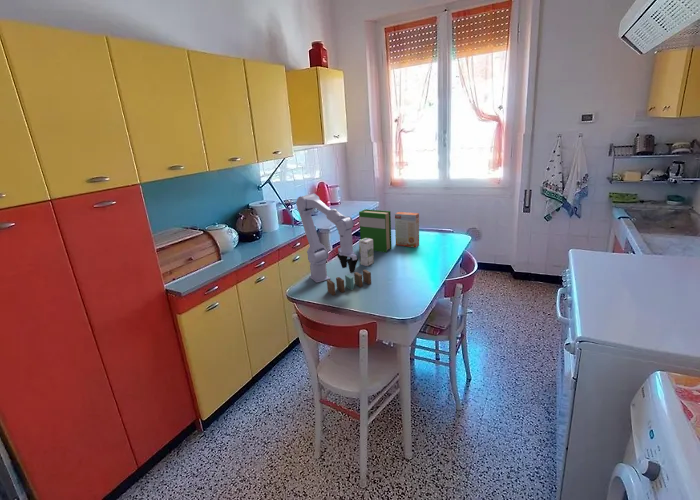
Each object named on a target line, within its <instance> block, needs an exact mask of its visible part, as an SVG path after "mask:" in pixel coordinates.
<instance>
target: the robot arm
mask: <svg viewBox="0 0 700 500" xmlns="http://www.w3.org/2000/svg"><path fill="white" fill-rule="evenodd" d="M295 205H296V208H297V211H298V214H299V218H300V221H301V223H302V226H303V230H304V232H305V235H306V239H307V242H308V245H309V247H308V249H307V251H306V253H307V260H308V262H309V264H310V265H309V267H310V268H309V270H310V275H309V279H312V280H313V281H314V282H315V283H321V282H323V281H324V282H325V281H327V280H331V277H330V276H328V271H327V270H328V269H327V261H328V259H329V252H328V250H327V247H325V246H326V245H325V244H323V243H321V242H320V239H319V236H318V233H317V229H316V227H315V222H314V220H313V217H312V212H313V210H314V209H317V210H318V211H320V212H321V213H322V214H324V215H325V216H326V219H327V220H328V221H330V222H331V223H332V224H334V226H335V228H336V229H337V232H338V235H339V242H340V243H339V244H340V247H338V248H337V251H338V252H337V254H336V257H337V258H338V260H339V262H340V266H341V268H342V269H345V268H347V267H348V270H349V273H350V274H352V273H353V274H354V273H355V272H356V267H357V263H358V262H359V258H358V256H357V254H355V252H354V247H353V234H352V233H353V232H352V230H353V228H354V226H355V224H354V220H353V219H352V217H351V216H348V215H347V216H346V215H344V214H342V213H341V212H339V211H338V210H337V209H336V208H332V209H331V208H330V207H329V206H328V205H327V204H325V203H324V202H323V201H322V200H321V199H320V196H319V195H317V194H316V193H314V192H313V193H310V194H306V195H302V196H298V197H297V198H296V202H295Z"/></svg>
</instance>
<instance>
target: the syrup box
mask: <svg viewBox="0 0 700 500" xmlns="http://www.w3.org/2000/svg"><path fill="white" fill-rule="evenodd" d="M358 244H359V245H358V248H359V264H360V265H361V266H365V267H370V266H371V265H374V263H375V262H374V256H375V255H374V254H375V253H374V251H373V239H369V238H364V239H362V240H361V239H359V240H358Z"/></svg>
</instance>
